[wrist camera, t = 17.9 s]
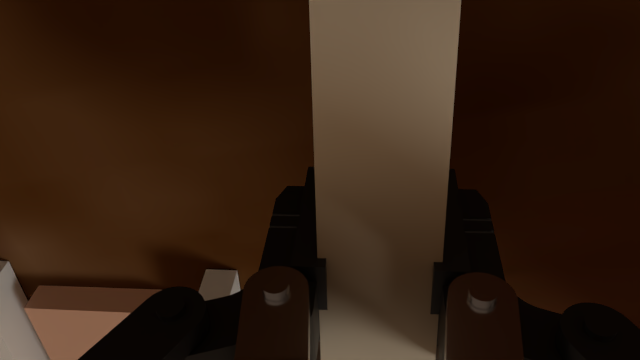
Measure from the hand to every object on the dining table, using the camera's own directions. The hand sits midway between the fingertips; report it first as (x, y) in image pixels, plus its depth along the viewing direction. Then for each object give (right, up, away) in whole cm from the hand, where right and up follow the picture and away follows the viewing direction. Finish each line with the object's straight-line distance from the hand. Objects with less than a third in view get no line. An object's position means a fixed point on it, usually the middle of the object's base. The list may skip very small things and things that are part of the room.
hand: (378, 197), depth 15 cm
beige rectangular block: (0, +1, +1) cm, 2 cm away
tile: (-12, -8, +17) cm, 22 cm away
